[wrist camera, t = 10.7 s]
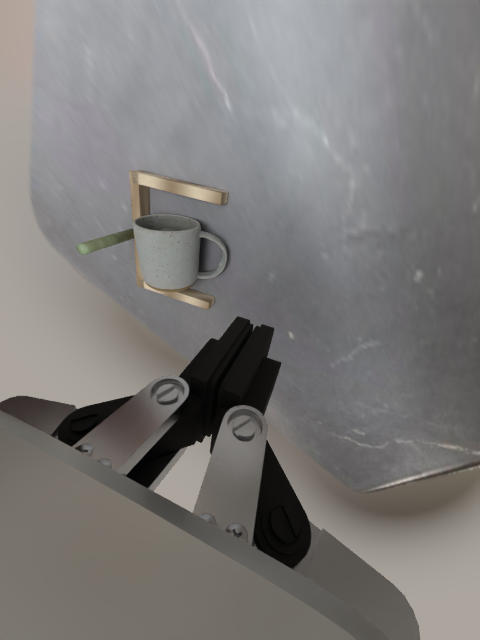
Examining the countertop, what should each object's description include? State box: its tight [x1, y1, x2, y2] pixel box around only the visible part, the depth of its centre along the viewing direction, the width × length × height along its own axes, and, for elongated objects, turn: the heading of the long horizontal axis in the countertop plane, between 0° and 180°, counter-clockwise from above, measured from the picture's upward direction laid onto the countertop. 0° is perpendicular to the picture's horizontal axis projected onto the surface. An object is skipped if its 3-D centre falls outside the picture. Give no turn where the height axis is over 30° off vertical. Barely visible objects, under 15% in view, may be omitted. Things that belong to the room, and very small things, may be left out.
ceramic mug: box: [132, 214, 227, 292], centre depth 31 cm, size 11×8×8 cm
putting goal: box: [76, 171, 228, 310], centre depth 31 cm, size 13×15×10 cm
